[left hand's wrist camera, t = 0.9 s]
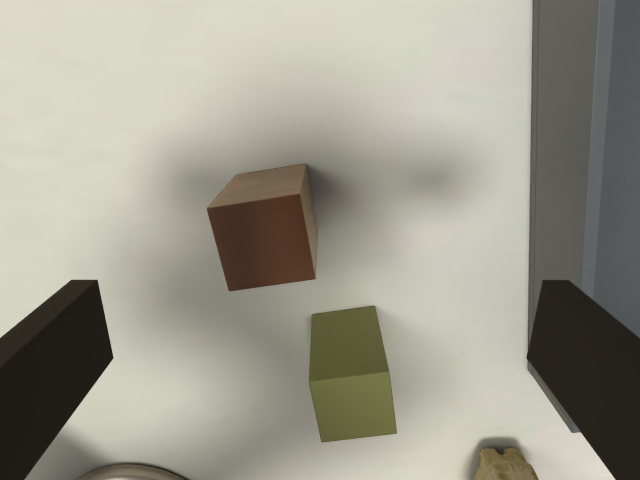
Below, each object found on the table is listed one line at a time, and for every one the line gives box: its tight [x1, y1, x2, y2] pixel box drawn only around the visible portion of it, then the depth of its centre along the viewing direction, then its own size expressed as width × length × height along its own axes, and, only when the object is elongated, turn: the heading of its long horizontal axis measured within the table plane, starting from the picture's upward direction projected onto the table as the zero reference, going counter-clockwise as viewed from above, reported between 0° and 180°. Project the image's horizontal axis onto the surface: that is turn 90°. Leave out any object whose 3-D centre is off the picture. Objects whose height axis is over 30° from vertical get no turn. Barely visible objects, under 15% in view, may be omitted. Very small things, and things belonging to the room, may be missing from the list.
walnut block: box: [207, 164, 318, 291], centre depth 27 cm, size 5×5×8 cm
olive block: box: [309, 306, 397, 442], centre depth 31 cm, size 5×5×8 cm
